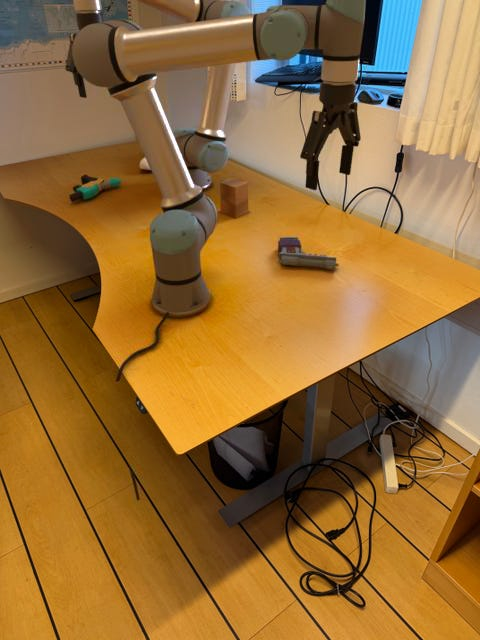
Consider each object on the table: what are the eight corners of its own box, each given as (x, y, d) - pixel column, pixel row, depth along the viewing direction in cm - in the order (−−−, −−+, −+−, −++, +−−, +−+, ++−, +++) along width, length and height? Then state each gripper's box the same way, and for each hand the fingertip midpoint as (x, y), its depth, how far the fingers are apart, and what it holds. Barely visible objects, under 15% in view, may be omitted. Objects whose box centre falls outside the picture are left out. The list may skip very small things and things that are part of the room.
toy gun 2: (339, 250, 148) (337, 274, 136) (279, 245, 151) (272, 268, 139) (340, 238, 146) (338, 262, 134) (280, 234, 149) (273, 256, 137)
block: (248, 212, 173) (248, 182, 166) (235, 218, 169) (235, 187, 162) (233, 206, 177) (232, 177, 170) (220, 212, 173) (219, 182, 166)
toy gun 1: (47, 189, 181) (76, 196, 175) (93, 169, 199) (121, 175, 193) (49, 200, 183) (79, 207, 177) (95, 180, 202) (123, 186, 196)
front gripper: (355, 72, 109) (344, 164, 122) (287, 88, 95) (282, 191, 107) (384, 75, 105) (370, 171, 117) (317, 93, 91) (309, 199, 103)
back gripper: (117, 9, 144) (128, 86, 156) (41, 14, 129) (59, 98, 142) (132, 9, 139) (142, 89, 152) (55, 15, 125) (73, 102, 137)
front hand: (328, 180), depth 112 cm, fingers open, 13 cm apart
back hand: (102, 93), depth 147 cm, fingers open, 13 cm apart
